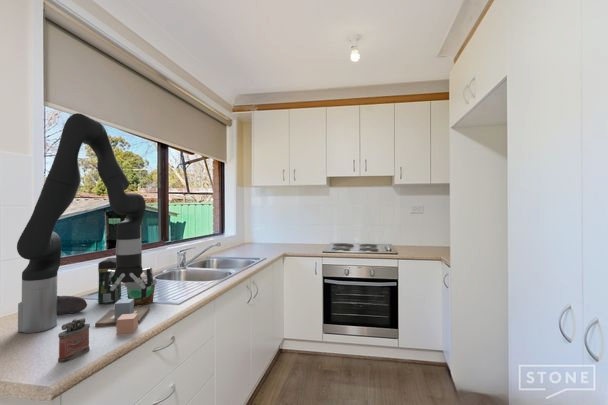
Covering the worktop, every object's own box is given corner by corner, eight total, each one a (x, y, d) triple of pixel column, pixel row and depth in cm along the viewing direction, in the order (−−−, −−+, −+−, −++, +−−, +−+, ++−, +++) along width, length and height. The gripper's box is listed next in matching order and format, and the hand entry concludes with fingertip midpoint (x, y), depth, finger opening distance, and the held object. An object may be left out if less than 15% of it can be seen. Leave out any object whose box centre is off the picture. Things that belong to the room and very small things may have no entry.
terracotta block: (116, 335, 99) (116, 319, 99) (121, 328, 104) (122, 314, 104) (133, 333, 100) (133, 318, 100) (137, 327, 105) (138, 313, 105)
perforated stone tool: (89, 309, 122) (89, 292, 122) (83, 314, 117) (83, 296, 117) (46, 312, 119) (46, 294, 119) (37, 317, 113) (38, 299, 114)
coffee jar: (103, 298, 137) (104, 256, 137) (123, 296, 139) (123, 256, 139) (94, 305, 127) (95, 260, 127) (116, 303, 129) (116, 260, 129)
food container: (120, 308, 124) (120, 283, 124) (125, 303, 130) (125, 280, 130) (153, 305, 127) (153, 282, 127) (156, 301, 133) (156, 278, 133)
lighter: (83, 348, 90) (84, 314, 90) (92, 350, 89) (93, 315, 89) (54, 361, 82) (55, 324, 82) (63, 363, 81) (64, 326, 81)
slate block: (114, 317, 111) (114, 303, 111) (119, 312, 116) (119, 299, 116) (129, 316, 112) (129, 302, 112) (133, 311, 117) (134, 298, 117)
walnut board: (95, 326, 105) (95, 323, 105) (110, 312, 119) (110, 309, 119) (139, 323, 108) (139, 319, 108) (149, 310, 122) (149, 306, 122)
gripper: (154, 249, 108) (154, 295, 108) (109, 251, 104) (109, 298, 104) (149, 252, 101) (149, 301, 101) (100, 255, 97) (101, 305, 97)
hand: (129, 300), depth 103 cm, fingers open, 8 cm apart
